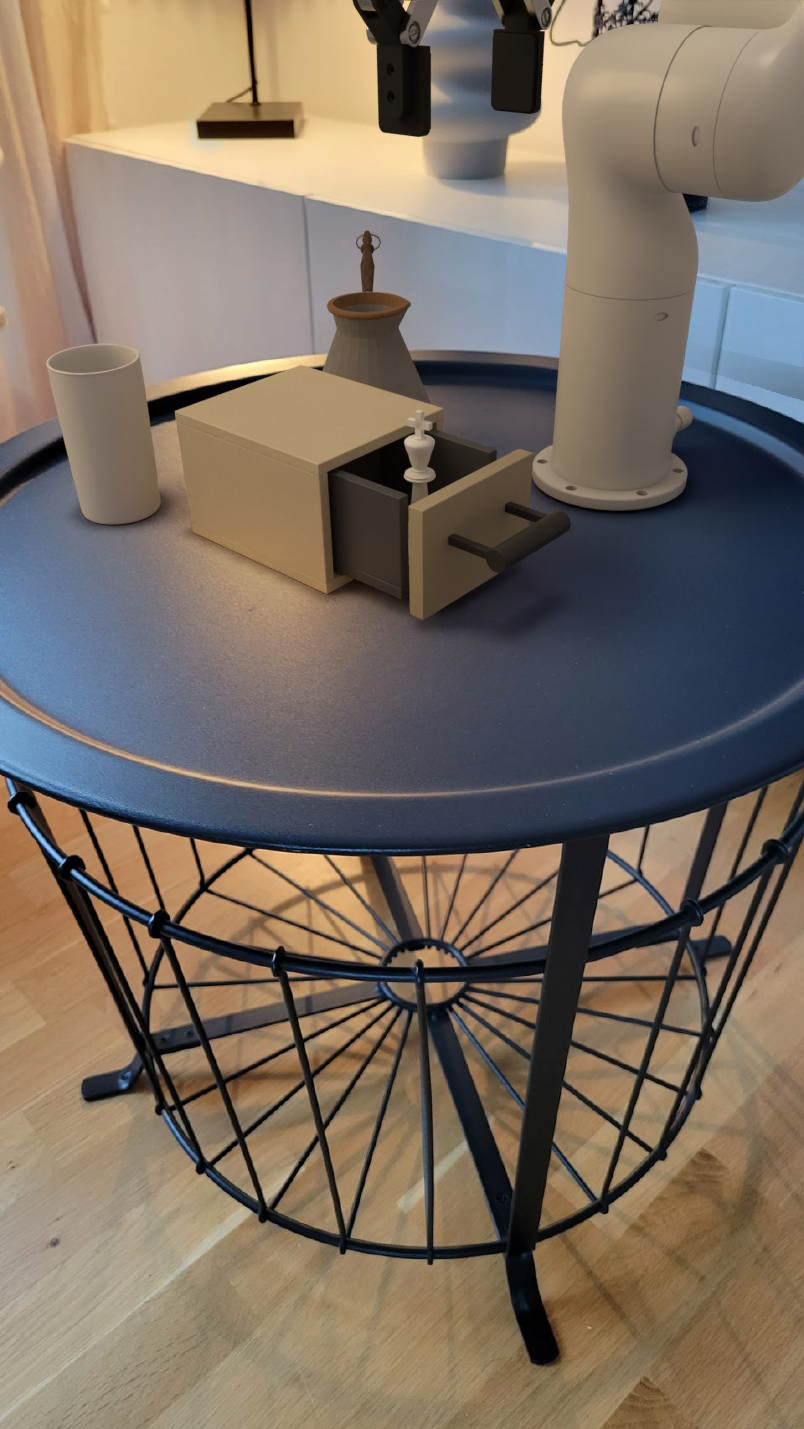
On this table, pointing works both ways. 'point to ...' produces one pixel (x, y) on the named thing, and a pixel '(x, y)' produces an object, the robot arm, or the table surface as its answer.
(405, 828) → the table surface
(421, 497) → the chess piece
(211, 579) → the table surface
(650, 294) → the robot arm
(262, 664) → the table surface
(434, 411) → the cabinet
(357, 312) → the coffee pot
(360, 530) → the drawer
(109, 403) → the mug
